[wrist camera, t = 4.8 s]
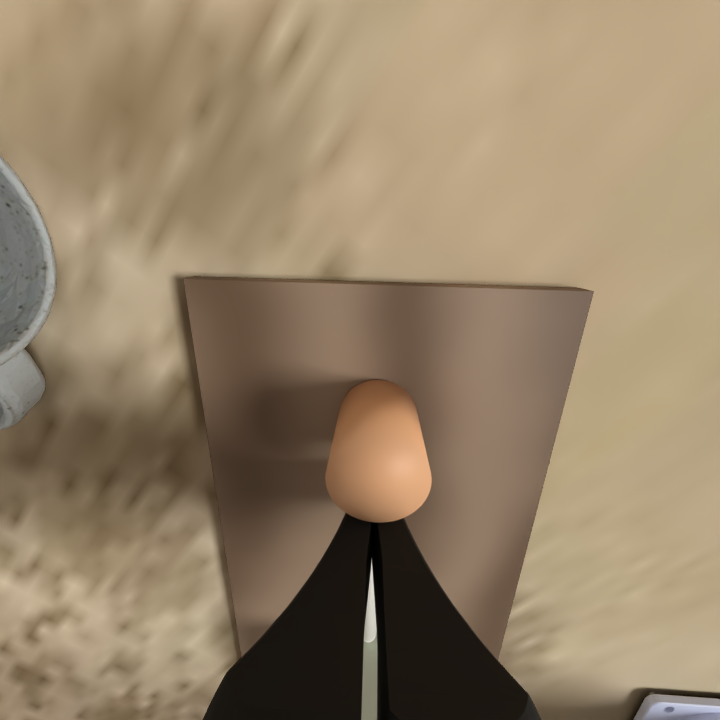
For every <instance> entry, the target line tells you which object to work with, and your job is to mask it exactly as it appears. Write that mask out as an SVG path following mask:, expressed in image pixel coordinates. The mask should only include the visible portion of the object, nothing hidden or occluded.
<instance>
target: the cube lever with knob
mask: <svg viewBox="0 0 720 720" xmlns="http://www.w3.org/2000/svg"><path fill="white" fill-rule="evenodd" d="M325 481H326V487H327V490H328V493H329V495H330V497H331V498H332V500H333V501H334V503H335V504H336V505H337V506H338V507H339V508H340V509H341V510H343V511H344V512H345V513H347V514H349V515H350V516H352V517H355V518H357V519H360V520H363V521H368V522H380V523H383V522H391V521H396V520H399V519H402V518H404V517H407V516H408V515H410V514H412V513H413V512H415V511H416V510H417V509H418V508H419V507H420V506H421V505H422V504H423V503H424V502H425V500H426V499H427V497H428V495H429V492H430V489H431V483H432V477H431V471H430V466H429V462H428V458H427V453H426V449H425V445H424V440H423V436H422V432H421V427H420V423H419V418H418V414H417V410H416V406H415V403H414V401H413V399H412V397H411V396H410V395H409V393H408V392H407V391H406V390H405V389H403V388H402V387H400V386H399V385H397V384H395V383H392V382H389V381H384V380H372V381H367V382H363V383H361V384H359V385H357V386H355V387H354V388H352V389H351V390H350V391H349V392H348V393H347V394H346V395H345V397H344V399H343V400H342V403H341V406H340V410H339V414H338V419H337V424H336V428H335V433H334V437H333V442H332V446H331V451H330V456H329V460H328V465H327V469H326V476H325ZM361 720H377V628H376V614H375V599H374V585H373V570H372V563H371V573H370V582H369V591H368V601H367V610H366V619H365V629H364V648H363V681H362V715H361Z"/></svg>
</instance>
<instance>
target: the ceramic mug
mask: <svg viewBox="0 0 720 720" xmlns="http://www.w3.org/2000/svg"><path fill="white" fill-rule="evenodd" d="M55 290H56V262H55V256H54V251H53V247H52V242H51V238H50V235H49V233H48V230H47V228H46V225H45V223H44V220H43V218H42V216H41V213H40V211H39V208H38V206H37V205H36V203H35V201H34V200H33V198H32V196H31V195H30V193H29V192H28V190H27V189H26V187H25V186H24V184H23V183H22V181H21V180H20V179H19V177H18V176H17V174H16V173H15V172H14V171H13V170H12V169H11V167H10V166H9V165H8V164H7V163H6V162H5V161H4V160H3V158H2V157H1V156H0V429H6V428H9V427H11V426H13V425H14V424H16V423H17V422H19V421H20V420H21V419H22V418H23V417H24V416H25V415H26V413H27V412H28V411H29V410H30V409H31V408H32V407H33V406H34V405H35V404H36V403H37V402H38V401H39V400H40V399H41V397H42V395H43V392H44V390H45V379H44V376H43V374H42V373H41V371H40V369H39V368H38V366H37V365H36V363H35V362H34V360H33V359H32V357H31V356H30V355H29V353H28V352H27V351H26V350H25V349H24V348H25V347H26V346H27V345H28V344H29V343H30V342H31V341H32V340H33V339H34V338H35V336H36V335H37V334H38V333H39V331H40V329H41V328H42V326H43V325H44V323H45V321H46V319H47V318H48V316H49V313H50V310H51V307H52V303H53V299H54V294H55Z"/></svg>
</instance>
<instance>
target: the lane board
mask: <svg viewBox="0 0 720 720" xmlns="http://www.w3.org/2000/svg"><path fill="white" fill-rule="evenodd" d="M183 280H184V286H185V293H186V299H187V306H188V312H189V319H190V325H191V332H192V339H193V345H194V352H195V358H196V365H197V371H198V378H199V384H200V391H201V397H202V404H203V410H204V417H205V423H206V430H207V436H208V443H209V449H210V456H211V462H212V469H213V475H214V482H215V488H216V495H217V501H218V508H219V514H220V521H221V527H222V534H223V540H224V547H225V553H226V560H227V566H228V573H229V579H230V586H231V592H232V599H233V606H234V612H235V619H236V625H237V632H238V638H239V645H240V651H241V657H242V656H243V655H244V654H245V653H246V652H247V651H248V650H249V649H250V648H251V647H252V646H253V645H254V644H255V643H256V642H257V641H258V640H259V639H260V638H261V637H262V635H263V634H264V633H265V632H266V631H267V630H268V629H269V627H270V626H271V625H272V624H273V623H274V622H275V620H276V619H277V618H278V617H279V616H280V615H281V613H282V612H283V611H284V610H285V609H286V608H287V606H288V605H289V604H290V603H291V601H292V600H293V599H294V597H295V596H296V595H297V593H298V592H299V591H300V589H301V588H302V587H303V585H304V584H305V582H306V581H307V580H308V578H309V577H310V575H311V574H312V572H313V571H314V569H315V568H316V566H317V565H318V563H319V562H320V560H321V558H322V557H323V555H324V554H325V552H326V550H327V548H328V547H329V545H330V543H331V541H332V539H333V538H334V536H335V534H336V532H337V530H338V528H339V526H340V524H341V522H342V520H343V517H344V515H345V512H344V511H343V510H341V509H340V508H339V507H338V506H337V505H336V504H335V503H334V501H333V500H332V498H331V497H330V495H329V493H328V490H327V487H326V481H325V476H326V469H327V465H328V460H329V456H330V451H331V446H332V442H333V437H334V433H335V428H336V424H337V419H338V414H339V410H340V406H341V403H342V400H343V399H344V397H345V395H346V394H347V393H348V392H349V391H350V390H351V389H352V388H354V387H355V386H357V385H359V384H361V383H363V382H367V381H372V380H384V381H389V382H392V383H395V384H397V385H399V386H400V387H402V388H403V389H405V390H406V391H407V392H408V393H409V395H410V396H411V397H412V399H413V401H414V403H415V406H416V410H417V414H418V418H419V423H420V427H421V432H422V436H423V440H424V445H425V449H426V453H427V458H428V462H429V466H430V471H431V477H432V483H431V489H430V492H429V495H428V497H427V499H426V500H425V502H424V503H423V504H422V505H421V506H420V507H419V508H418V509H417V510H416V511H415V512H413V513H412V514H410V515H408V516H407V517H404V519H405V521H406V523H407V525H408V528H409V530H410V532H411V534H412V536H413V538H414V540H415V542H416V544H417V546H418V548H419V550H420V552H421V554H422V555H423V557H424V559H425V561H426V563H427V564H428V566H429V568H430V569H431V571H432V573H433V574H434V576H435V578H436V579H437V581H438V582H439V584H440V585H441V587H442V589H443V590H444V592H445V593H446V594H447V596H448V597H449V599H450V600H451V602H452V603H453V605H454V606H455V608H456V609H457V610H458V611H459V613H460V614H461V615H462V617H463V618H464V619H465V621H466V622H467V623H468V625H469V626H470V627H471V629H472V630H473V631H474V632H475V634H476V635H477V636H478V638H479V639H480V640H481V641H482V642H483V644H484V645H485V646H486V647H487V648H488V650H489V651H490V652H491V653H492V654H493V656H494V657H495V658H496V659H497V660H498V657H499V653H500V650H501V646H502V642H503V638H504V634H505V630H506V626H507V623H508V619H509V615H510V611H511V607H512V603H513V600H514V596H515V592H516V588H517V584H518V580H519V577H520V573H521V569H522V565H523V561H524V557H525V554H526V550H527V546H528V542H529V538H530V534H531V531H532V527H533V523H534V519H535V515H536V511H537V508H538V504H539V500H540V496H541V492H542V488H543V484H544V481H545V477H546V473H547V469H548V465H549V461H550V458H551V454H552V450H553V446H554V442H555V438H556V435H557V431H558V427H559V423H560V419H561V415H562V412H563V408H564V404H565V400H566V396H567V392H568V389H569V385H570V381H571V377H572V373H573V369H574V366H575V362H576V358H577V354H578V350H579V346H580V342H581V339H582V335H583V331H584V327H585V323H586V319H587V316H588V312H589V308H590V304H591V300H592V296H593V293H594V291H590V290H586V289H582V288H566V287H533V286H500V285H466V284H433V283H400V282H367V281H334V280H300V279H267V278H234V277H201V276H195V277H190V278H186V279H183Z"/></svg>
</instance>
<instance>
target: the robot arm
mask: <svg viewBox="0 0 720 720" xmlns="http://www.w3.org/2000/svg"><path fill="white" fill-rule="evenodd" d="M371 563H372V570H373V585H374V599H375V614H376V628H377V720H541V718H540V716H539V714H538V712H537V710H536V708H535V706H534V704H533V701H532V700H531V698H530V696H529V694H528V693H527V692H526V691H525V690H524V689H523V688H522V687H521V686H520V685H519V684H518V682H517V681H516V680H515V679H514V678H513V677H512V676H511V675H510V674H509V673H508V672H507V670H506V669H505V668H504V667H503V666H502V665H501V664H500V663H499V661H498V660H497V659H496V658H495V657H494V656H493V654H492V653H491V652H490V651H489V650H488V648H487V647H486V646H485V645H484V644H483V642H482V641H481V640H480V639H479V638H478V636H477V635H476V634H475V632H474V631H473V630H472V629H471V627H470V626H469V625H468V623H467V622H466V621H465V619H464V618H463V617H462V615H461V614H460V613H459V611H458V610H457V609H456V608H455V606H454V605H453V603H452V602H451V600H450V599H449V597H448V596H447V594H446V593H445V592H444V590H443V589H442V587H441V585H440V584H439V582H438V581H437V579H436V578H435V576H434V574H433V573H432V571H431V569H430V568H429V566H428V564H427V563H426V561H425V559H424V557H423V555H422V554H421V552H420V550H419V548H418V546H417V544H416V542H415V540H414V538H413V536H412V534H411V532H410V530H409V528H408V525H407V523H406V521H405V519H404V518H402V519H399V520H396V521H391V522H383V523H380V522H368V521H363V520H360V519H357V518H355V517H352V516H350V515H349V514H347V513H345V515H344V517H343V520H342V522H341V524H340V526H339V528H338V530H337V532H336V534H335V536H334V538H333V539H332V541H331V543H330V545H329V547H328V548H327V550H326V552H325V554H324V555H323V557H322V558H321V560H320V562H319V563H318V565H317V566H316V568H315V569H314V571H313V572H312V574H311V575H310V577H309V578H308V580H307V581H306V582H305V584H304V585H303V587H302V588H301V589H300V591H299V592H298V593H297V595H296V596H295V597H294V599H293V600H292V601H291V603H290V604H289V605H288V606H287V608H286V609H285V610H284V611H283V612H282V613H281V615H280V616H279V617H278V618H277V619H276V620H275V622H274V623H273V624H272V625H271V626H270V627H269V629H268V630H267V631H266V632H265V633H264V634H263V635H262V637H261V638H260V639H259V640H258V641H257V642H256V643H255V644H254V645H253V646H252V647H251V648H250V649H249V650H248V651H247V652H246V653H245V654H244V655H243V656H242V657H241V658H240V659H239V660H238V661H237V662H236V663H235V664H234V665H233V666H232V667H231V668H230V669H229V671H228V672H227V673H226V675H225V676H224V678H223V680H222V682H221V684H220V685H219V687H218V689H217V691H216V693H215V695H214V697H213V699H212V701H211V703H210V705H209V707H208V709H207V712H206V714H205V716H204V718H203V720H361V715H362V681H363V648H364V629H365V619H366V610H367V601H368V591H369V582H370V573H371ZM634 720H720V699H716V698H703V697H689V696H675V695H662V694H652V695H648V696H647V697H646V698H645V699H644V701H643V703H642V705H641V707H640V708H639V710H638V712H637V714H636V716H635V718H634Z"/></svg>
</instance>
